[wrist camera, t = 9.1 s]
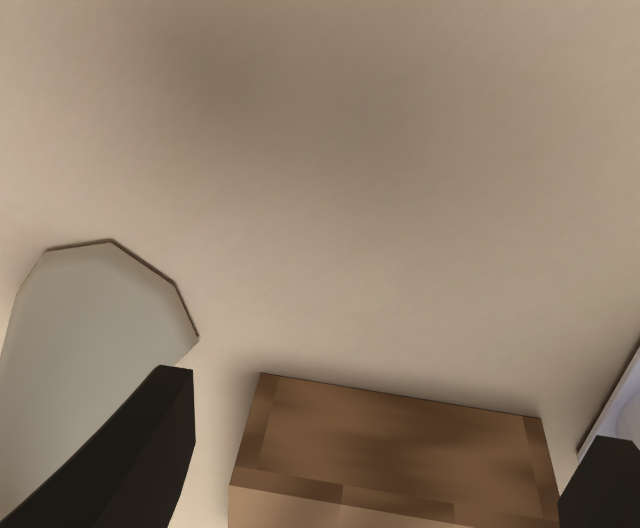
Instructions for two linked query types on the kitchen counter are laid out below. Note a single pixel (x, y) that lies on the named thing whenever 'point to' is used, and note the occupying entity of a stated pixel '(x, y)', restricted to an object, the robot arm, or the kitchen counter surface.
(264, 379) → the coin box
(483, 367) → the kitchen counter surface
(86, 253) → the flask
